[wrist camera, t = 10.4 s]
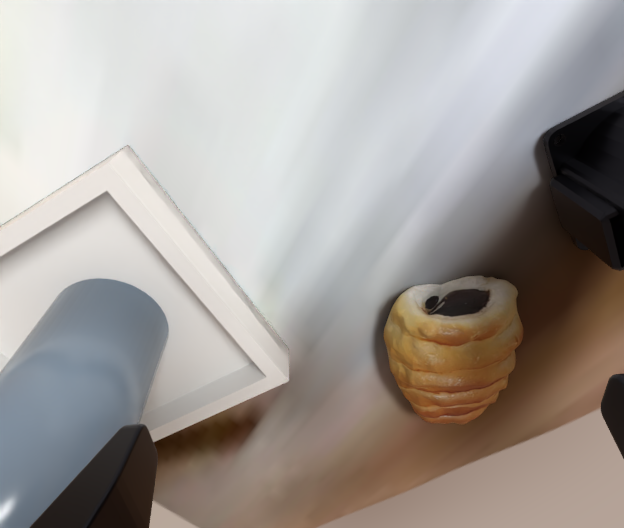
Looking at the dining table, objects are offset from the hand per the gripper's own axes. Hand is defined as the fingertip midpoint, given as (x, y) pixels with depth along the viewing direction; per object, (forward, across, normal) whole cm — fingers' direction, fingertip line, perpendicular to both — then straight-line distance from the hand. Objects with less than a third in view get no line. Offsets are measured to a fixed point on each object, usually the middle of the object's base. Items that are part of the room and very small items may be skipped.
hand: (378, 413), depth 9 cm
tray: (+13, +11, +6) cm, 18 cm away
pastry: (+13, -6, +10) cm, 18 cm away
